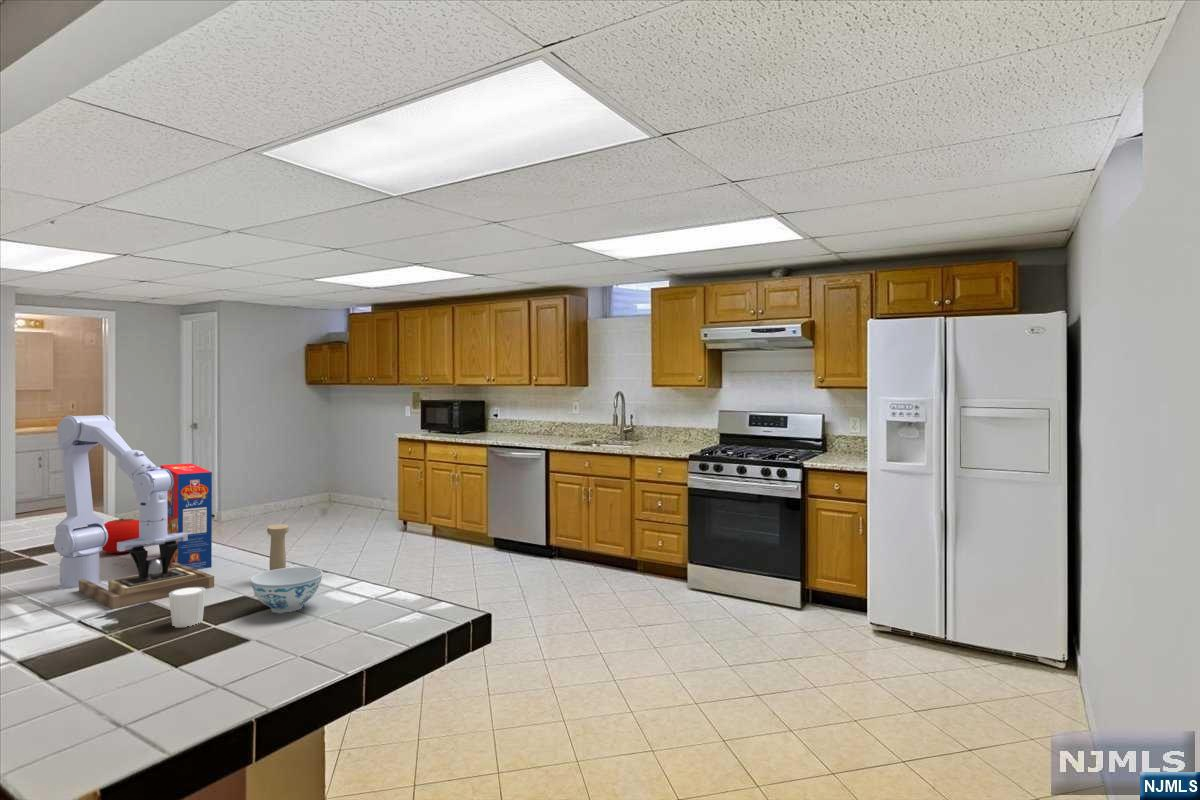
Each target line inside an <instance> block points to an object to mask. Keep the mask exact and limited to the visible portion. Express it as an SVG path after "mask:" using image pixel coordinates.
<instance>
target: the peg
mask: <svg viewBox="0 0 1200 800" xmlns="http://www.w3.org/2000/svg"><path fill="white" fill-rule="evenodd" d="M162 578H163V557H160V556H153V557H147V560H146V578H144V582H147V581H152V580H157V579H162Z"/></svg>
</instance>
